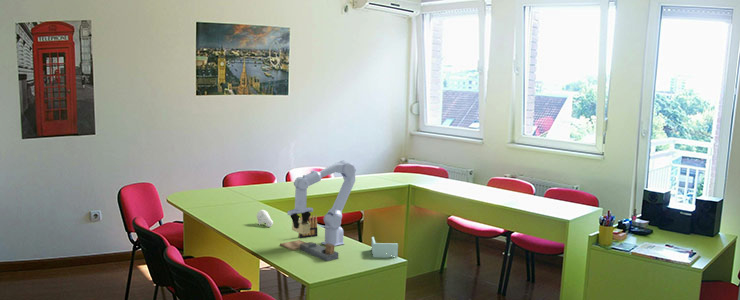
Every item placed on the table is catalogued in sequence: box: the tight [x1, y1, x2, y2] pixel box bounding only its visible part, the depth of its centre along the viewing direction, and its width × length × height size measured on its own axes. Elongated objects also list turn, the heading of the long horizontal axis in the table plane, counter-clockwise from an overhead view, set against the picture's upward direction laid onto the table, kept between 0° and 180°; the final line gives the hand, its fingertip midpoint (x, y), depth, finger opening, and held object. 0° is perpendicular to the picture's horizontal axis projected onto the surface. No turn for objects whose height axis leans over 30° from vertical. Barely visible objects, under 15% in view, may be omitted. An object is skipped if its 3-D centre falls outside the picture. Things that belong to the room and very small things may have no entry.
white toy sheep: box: [256, 209, 274, 228], centre depth 327 cm, size 6×8×12 cm
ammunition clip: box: [297, 214, 318, 239], centre depth 306 cm, size 11×2×12 cm, turn 122°
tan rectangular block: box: [291, 218, 310, 234], centre depth 286 cm, size 4×9×5 cm, turn 43°
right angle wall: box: [370, 236, 399, 259], centre depth 282 cm, size 12×12×8 cm
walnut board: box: [279, 239, 306, 251], centre depth 290 cm, size 12×11×1 cm
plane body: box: [299, 241, 339, 262], centre depth 277 cm, size 7×22×7 cm, turn 42°
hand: (300, 227), depth 286 cm, fingers closed on tan rectangular block, 4 cm apart
